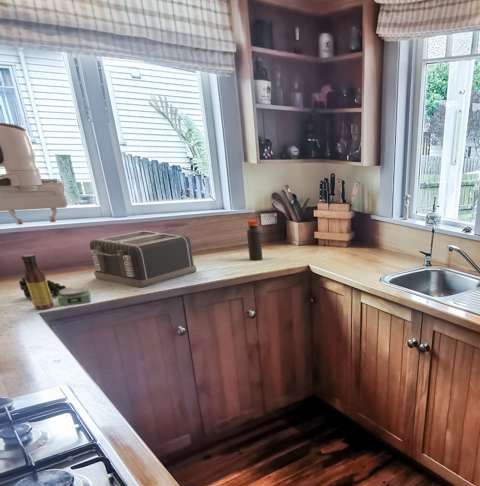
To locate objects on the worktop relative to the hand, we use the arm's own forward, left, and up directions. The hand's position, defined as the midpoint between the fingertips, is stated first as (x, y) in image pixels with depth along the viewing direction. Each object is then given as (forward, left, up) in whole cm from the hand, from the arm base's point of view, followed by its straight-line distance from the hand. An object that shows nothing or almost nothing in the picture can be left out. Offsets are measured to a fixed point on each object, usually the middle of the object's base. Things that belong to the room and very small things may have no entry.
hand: (36, 223), depth 157 cm
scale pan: (+4, +13, -28) cm, 32 cm away
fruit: (-7, +22, -32) cm, 40 cm away
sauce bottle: (-6, +8, -32) cm, 33 cm away
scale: (+4, +13, -32) cm, 35 cm away
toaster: (+30, +40, -32) cm, 59 cm away
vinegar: (+86, +53, -32) cm, 106 cm away
